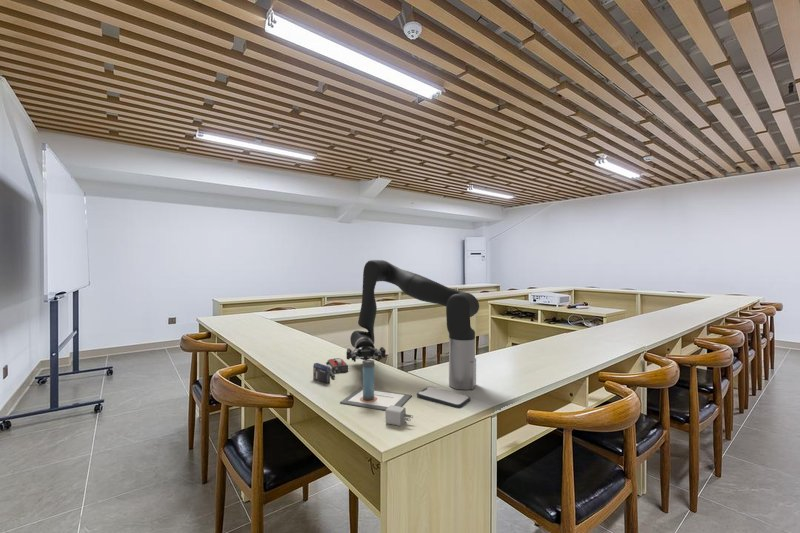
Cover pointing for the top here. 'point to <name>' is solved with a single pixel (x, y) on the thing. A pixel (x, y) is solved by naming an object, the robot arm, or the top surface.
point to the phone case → (443, 397)
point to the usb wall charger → (396, 415)
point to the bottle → (368, 380)
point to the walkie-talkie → (337, 366)
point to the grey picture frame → (377, 399)
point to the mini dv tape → (321, 373)
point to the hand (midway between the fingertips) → (367, 358)
